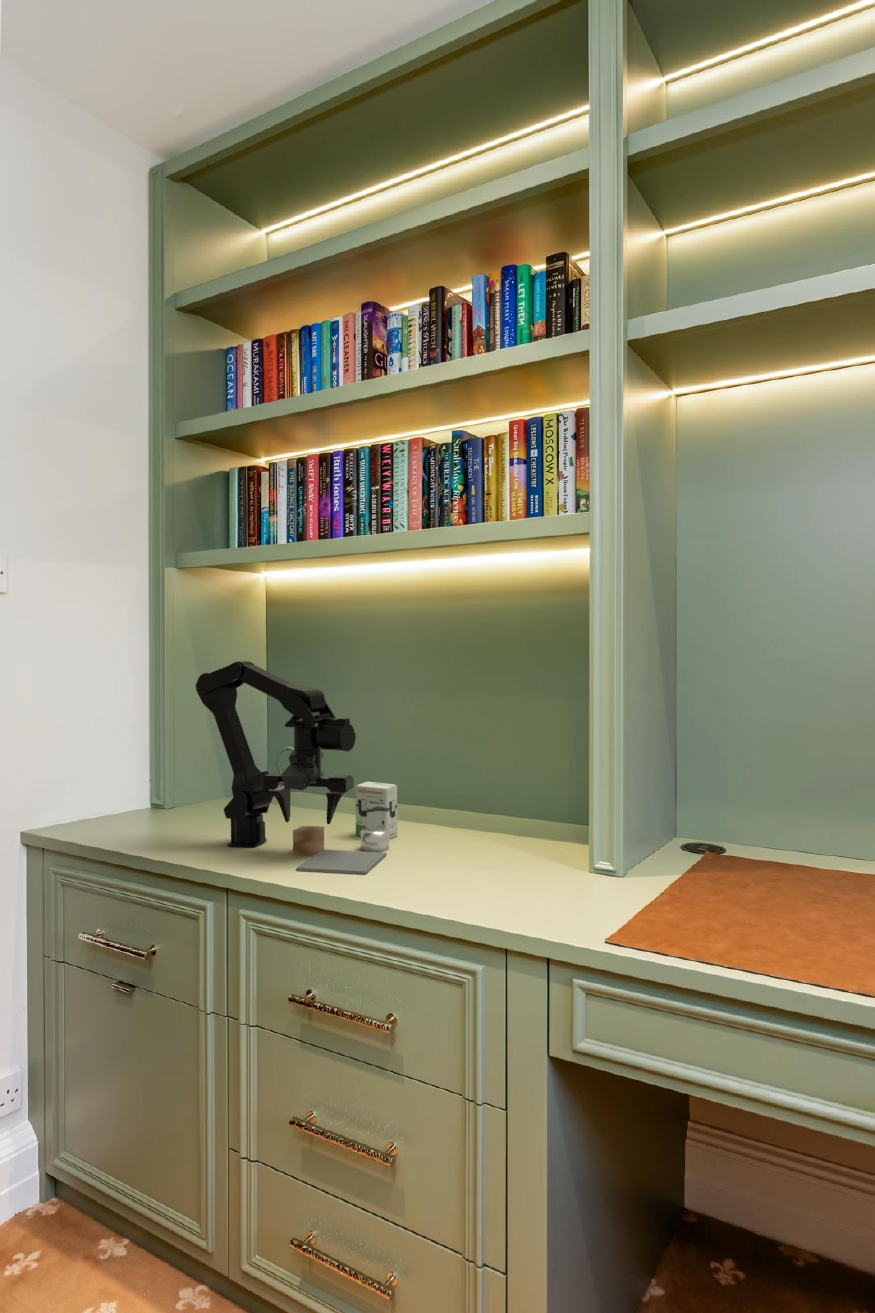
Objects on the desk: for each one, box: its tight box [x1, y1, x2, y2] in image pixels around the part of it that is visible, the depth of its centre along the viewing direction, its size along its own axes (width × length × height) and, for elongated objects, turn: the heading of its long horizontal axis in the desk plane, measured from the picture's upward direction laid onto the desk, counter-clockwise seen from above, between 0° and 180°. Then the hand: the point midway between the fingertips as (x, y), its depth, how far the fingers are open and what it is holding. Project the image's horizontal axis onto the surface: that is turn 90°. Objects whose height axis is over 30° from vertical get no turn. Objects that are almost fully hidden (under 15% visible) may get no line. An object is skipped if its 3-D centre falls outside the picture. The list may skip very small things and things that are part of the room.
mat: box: [295, 849, 387, 875], centre depth 159 cm, size 14×14×1 cm
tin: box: [360, 827, 390, 853], centre depth 170 cm, size 6×6×4 cm
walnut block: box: [292, 825, 325, 856], centre depth 168 cm, size 5×5×5 cm
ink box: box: [355, 781, 398, 840], centre depth 181 cm, size 9×5×12 cm, turn 62°
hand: (308, 822), depth 168 cm, fingers open, 9 cm apart
